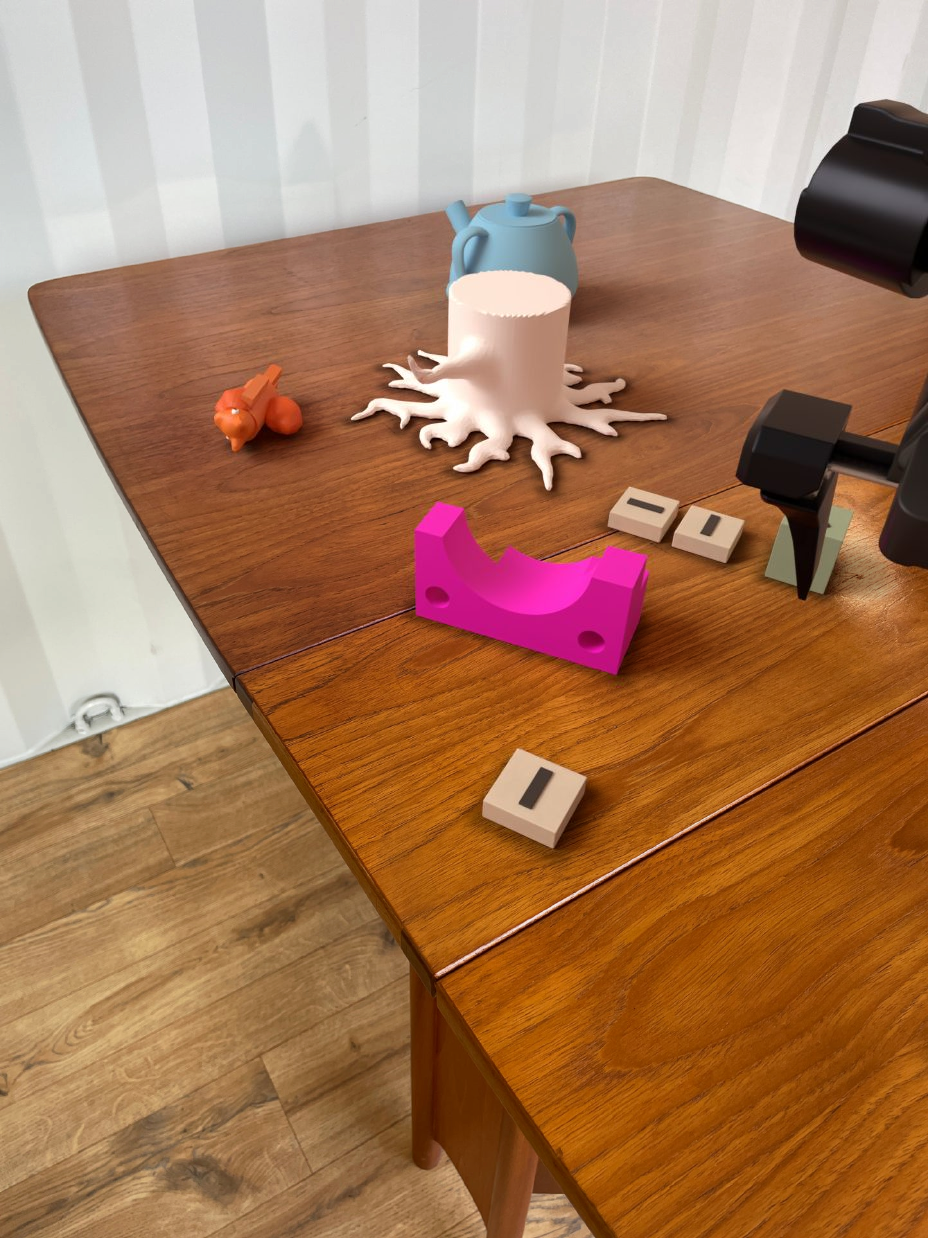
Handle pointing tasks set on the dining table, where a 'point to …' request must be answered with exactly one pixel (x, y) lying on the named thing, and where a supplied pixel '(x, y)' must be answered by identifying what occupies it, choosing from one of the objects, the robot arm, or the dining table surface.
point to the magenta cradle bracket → (529, 593)
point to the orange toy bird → (256, 409)
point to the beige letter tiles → (693, 534)
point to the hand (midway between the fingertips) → (892, 624)
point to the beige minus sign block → (534, 797)
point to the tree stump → (505, 372)
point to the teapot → (514, 240)
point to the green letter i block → (837, 527)
